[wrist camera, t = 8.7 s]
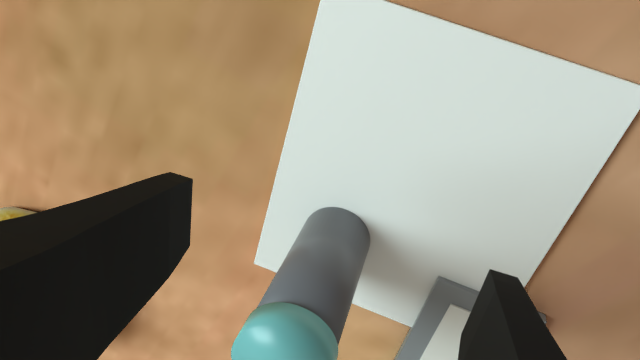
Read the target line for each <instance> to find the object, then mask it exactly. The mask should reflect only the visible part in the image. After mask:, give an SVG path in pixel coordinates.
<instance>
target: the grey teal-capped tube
mask: <svg viewBox="0 0 640 360" xmlns="http://www.w3.org/2000/svg"><path fill="white" fill-rule="evenodd" d="M369 247H370V234H369V231H368V228H367V226H366V225H365V223H364V222H363V221H362V220H361V219H360V218H359V217H358V216H357V215H356V214H354V213H352V212H351V211H349V210H346V209H343V208H339V207H325V208H321V209H319V210H317V211H315V212H313V213H312V214H311V215H310V216H309V217H308V219H307V221H306V222H305V224H304V226H303V228H302V229H301V231H300V233H299V235H298V236H297V238H296V240H295V242H294V243H293V245H292V247H291V249H290V250H289V252H288V254H287V256H286V258H285V259H284V261H283V263H282V265H281V266H280V268H279V270H278V272H277V273H276V275H275V277H274V279H273V280H272V282H271V284H270V286H269V287H268V289H267V291H266V293H265V294H264V296H263V298H262V300H261V302H260V303H259V305H258V307H257V308H256V309H255V310H254V311H253V312H252V313H251V314H250V315H249V317H248V319H247V320H246V322H245V324H244V326H243V327H242V329H241V331H240V332H239V334H238V336H237V338H236V339H235V341H234V343H233V346H232V350H231V358H232V360H337V356H338V344H339V341H340V338H341V334H342V331H343V328H344V325H345V322H346V319H347V316H348V313H349V309H350V306H351V303H352V300H353V297H354V294H355V291H356V288H357V284H358V281H359V278H360V275H361V272H362V269H363V266H364V263H365V259H366V256H367V253H368V250H369Z"/></svg>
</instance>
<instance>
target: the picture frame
mask: <svg viewBox="0 0 640 360" xmlns="http://www.w3.org/2000/svg"><path fill="white" fill-rule="evenodd" d="M478 295H479V291H477V290H474V289H472V288H469V287H466V286H464V285H461V284H459V283H456V282H454V281H451V280H448V279H446V278H443V277H441V276H438V278H437V280H436V282H435V283H434V285H433V287H432V289H431V291H430V293H429V295H428V297H427V299H426V301H425V303H424V305H423V307H422V309H421V311H420V313H419V314H418V316H417V318H416V320H415V322H414V324H413V326H412V327H411V328H410V330H409V332H408V334H407V336H406V338H405V340H404V342H403V343H402V345H401V347H400V349H399V351H398V353H397V355H396V357H395V359H394V360H458V354H459V346H460V339H461V333H462V331H463V329H464V327H465V324H466V322H467V320H468V317H469V315H470V313H471V311H472V308H473V306H474V304H475V301H476V299H477V297H478ZM538 313H539V315H540V317H541V318H542V320H543V322H544V323H545V324H546V322H547V321H546V316H545V314H543V313H540V312H538Z"/></svg>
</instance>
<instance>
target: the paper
mask: <svg viewBox="0 0 640 360" xmlns="http://www.w3.org/2000/svg"><path fill="white" fill-rule="evenodd" d="M639 110H640V85H639V84H636V83H633V82H630V81H627V80H624V79H621V78H618V77H615V76H612V75H609V74H606V73H603V72H600V71H597V70H594V69H591V68H588V67H585V66H582V65H579V64H576V63H573V62H570V61H567V60H564V59H561V58H558V57H555V56H552V55H549V54H546V53H543V52H540V51H537V50H534V49H531V48H528V47H525V46H522V45H519V44H516V43H513V42H510V41H507V40H504V39H501V38H498V37H495V36H492V35H489V34H486V33H483V32H480V31H477V30H474V29H471V28H468V27H465V26H462V25H459V24H456V23H453V22H450V21H447V20H444V19H441V18H438V17H435V16H432V15H428V14H425V13H422V12H419V11H416V10H413V9H410V8H407V7H404V6H401V5H398V4H395V3H392V2H389V1H386V0H321V1H320V4H319V8H318V12H317V16H316V20H315V24H314V28H313V32H312V36H311V40H310V44H309V48H308V52H307V56H306V60H305V64H304V68H303V71H302V75H301V79H300V83H299V87H298V91H297V95H296V99H295V103H294V107H293V111H292V115H291V119H290V123H289V127H288V131H287V135H286V139H285V142H284V146H283V150H282V154H281V158H280V162H279V166H278V170H277V174H276V178H275V182H274V186H273V190H272V194H271V198H270V202H269V206H268V210H267V213H266V217H265V221H264V225H263V229H262V233H261V237H260V241H259V245H258V249H257V253H256V257H255V261H254V264H257V265H259V266H261V267H264V268H266V269H269V270H271V271H274V272H276V273H277V272H278V270H279V268H280V266H281V265H282V263H283V261H284V259H285V258H286V256H287V254H288V252H289V250H290V249H291V247H292V245H293V243H294V242H295V240H296V238H297V236H298V235H299V233H300V231H301V229H302V228H303V226H304V224H305V222H306V221H307V219H308V217H309V216H310V215H311V214H312V213H313V212H315V211H317V210H319V209H321V208H325V207H339V208H343V209H346V210H349V211H351V212H352V213H354V214H356V215H357V216H358V217H359V218H360V219H361V220H362V221H363V222H364V223H365V225H366V226H367V228H368V231H369V234H370V247H369V250H368V253H367V256H366V259H365V263H364V266H363V269H362V272H361V275H360V278H359V281H358V284H357V288H356V291H355V294H354V297H353V300H352V303H353V304H355V305H358V306H360V307H363V308H365V309H368V310H370V311H372V312H375V313H377V314H380V315H382V316H385V317H387V318H390V319H392V320H395V321H397V322H400V323H402V324H405V325H407V326H409V327H412V326H413V324H414V322H415V320H416V318H417V316H418V314H419V313H420V311H421V309H422V307H423V305H424V303H425V301H426V299H427V297H428V295H429V293H430V291H431V289H432V287H433V285H434V283H435V282H436V280H437V278H438V276H441V277H443V278H446V279H448V280H451V281H454V282H456V283H459V284H461V285H464V286H466V287H469V288H472V289H474V290H477V291H479V292H480V290H481V288H482V285H483V283H484V281H485V279H486V276H487V274H488V272H489V269H491V270H495V271H498V272H501V273H505V274H508V275H511V276H515V277H518V278H519V280H520V282H521V283H522V285H523V287H525V286H526V284H527V282H528V281H529V279H530V278H531V276H532V275H533V273H534V272H535V270H536V269H537V267H538V265H539V264H540V262H541V261H542V259H543V258H544V256H545V255H546V253H547V252H548V250H549V249H550V247H551V245H552V244H553V242H554V241H555V239H556V238H557V236H558V235H559V233H560V232H561V230H562V228H563V227H564V225H565V224H566V222H567V221H568V219H569V218H570V216H571V215H572V213H573V211H574V210H575V208H576V207H577V205H578V204H579V202H580V201H581V199H582V198H583V196H584V194H585V193H586V191H587V190H588V188H589V187H590V185H591V184H592V182H593V181H594V179H595V177H596V176H597V174H598V173H599V171H600V170H601V168H602V167H603V165H604V164H605V162H606V161H607V159H608V157H609V156H610V154H611V153H612V151H613V150H614V148H615V147H616V145H617V144H618V142H619V140H620V139H621V137H622V136H623V134H624V133H625V131H626V130H627V128H628V127H629V125H630V123H631V122H632V120H633V119H634V117H635V116H636V114H637V113H638V111H639Z"/></svg>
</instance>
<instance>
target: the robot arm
mask: <svg viewBox="0 0 640 360" xmlns="http://www.w3.org/2000/svg"><path fill="white" fill-rule="evenodd" d="M192 183H193V179H191V178H188V177H184V176H181V175H178V174H175V173H171V172H169V173H165V174H161V175H158V176H154V177H151V178H148V179H145V180H142V181H139V182H136V183H133V184H130V185H127V186H124V187H121V188H118V189H115V190H112V191H108V192H105V193H102V194H99V195H96V196H93V197H90V198H87V199H83V200H80V201H77V202H73V203H70V204H66V205H63V206H59V207H56V208H52V209H49V210H45V211H42V212H38V213H34V214H30V215H25V216H21V217H17V218H12V219H7V220H2V221H0V360H97V359H98V358H99V357H100V355H101V354H102V353H103V352H104V350H105V349H106V348H107V347H108V346H109V344H110V343H111V342H112V341H113V340H114V339H115V338H116V337H117V335H118V334H119V333H120V332H121V331H122V330H123V329H124V328H125V327H126V325H127V324H128V323H129V322H130V321H131V320H132V319H133V318H134V316H135V315H136V314H137V313H138V312H139V311H140V310H141V309H142V308H143V306H144V305H145V304H146V303H147V302H148V301H149V300H150V299H151V297H152V296H153V295H154V294H155V293H156V292H157V291H158V289H159V288H160V287H161V286H162V285H163V284H164V282H165V281H166V280H167V279H168V278H169V276H170V275H171V273H172V272H173V271H174V269H175V268H176V266H177V265H178V263H179V262H180V260H181V259H182V257H183V256H184V254H185V252H186V251H187V249H188V248H189V246H190V229H191V206H192ZM458 360H567V359H566V357H565V356H564V354H563V352H562V351H561V349H560V348H559V346H558V345H557V343H556V341H555V340H554V338H553V337H552V335H551V333H550V332H549V330H548V328H547V327H546V325H545V323H544V322H543V320H542V318H541V317H540V315H539V313H538V311H537V310H536V308H535V306H534V304H533V303H532V301H531V299H530V297H529V296H528V294H527V292H526V290H525V289H524V287H523V285H522V283H521V282H520V280H519V278H518V277H515V276H511V275H508V274H505V273H501V272H498V271H495V270H491V269H489V272H488V274H487V276H486V279H485V281H484V283H483V285H482V288H481V290H480V292H479V295H478V297H477V299H476V301H475V304H474V306H473V308H472V311H471V313H470V315H469V317H468V320H467V322H466V324H465V327H464V329H463V331H462V333H461V339H460V346H459V354H458Z"/></svg>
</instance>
